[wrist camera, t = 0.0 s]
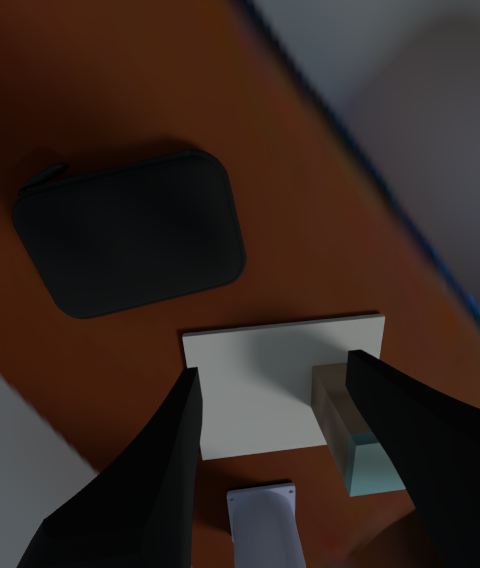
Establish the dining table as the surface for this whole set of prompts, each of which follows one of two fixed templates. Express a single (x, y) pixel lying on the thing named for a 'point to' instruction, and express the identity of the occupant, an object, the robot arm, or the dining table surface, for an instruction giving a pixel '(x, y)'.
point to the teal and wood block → (350, 435)
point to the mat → (269, 380)
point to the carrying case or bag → (131, 232)
